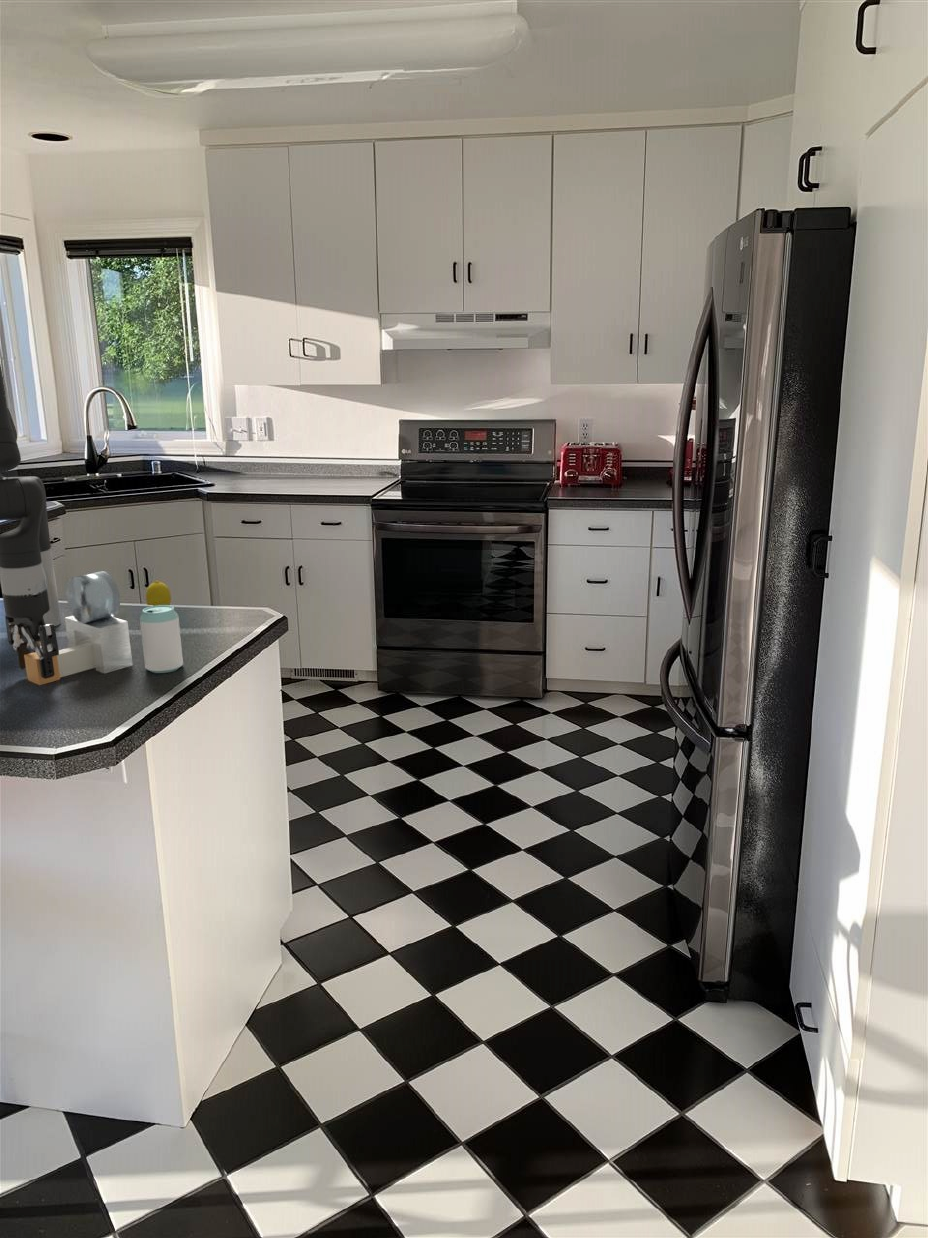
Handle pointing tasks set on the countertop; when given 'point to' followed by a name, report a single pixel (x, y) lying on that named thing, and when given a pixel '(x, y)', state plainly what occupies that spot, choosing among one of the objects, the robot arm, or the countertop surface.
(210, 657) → the countertop surface
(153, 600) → the lemon
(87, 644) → the plug
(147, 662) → the can
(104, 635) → the cylinder
